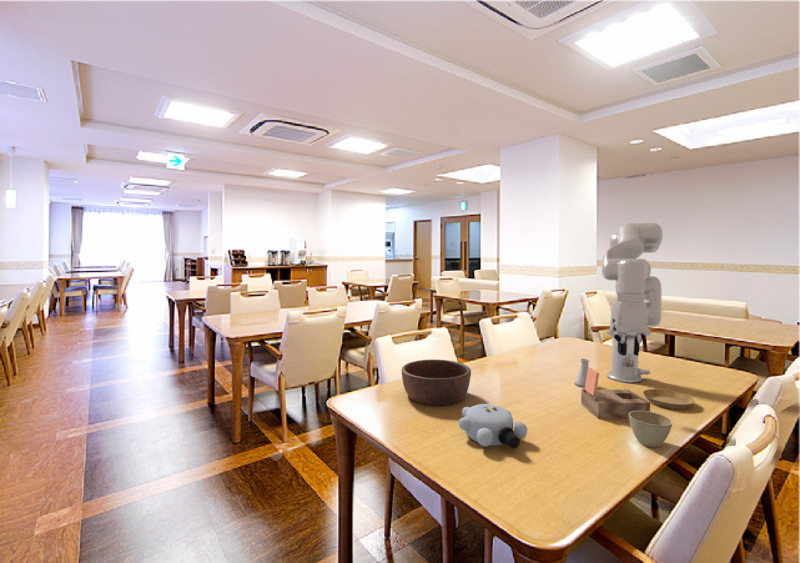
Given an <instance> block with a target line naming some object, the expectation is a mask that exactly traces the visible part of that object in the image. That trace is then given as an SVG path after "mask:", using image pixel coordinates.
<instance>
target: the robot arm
mask: <svg viewBox="0 0 800 563" xmlns="http://www.w3.org/2000/svg"><path fill="white" fill-rule="evenodd" d="M662 241H663V229H662V227H661V225H660V224H658V223H656V222H633V223H631V222H630V223H625V224H623V225H622V226H620V228H618V231H617V232H616V233H613V234H612V235H611V236H610V238H609V248H608V249H607V250H606V251H605V252H604V255H603V257H602V264H601V274H602V277H603V278H604V279H605V280H606V281H607V280H608V281H615V294H616V301H614V302H613V304H612V305H611V306H610V307H611V308H610V323H609V328H608V330H607V333H606V334H608V335H609V336H611V337H612V338H611V339H612V340H611V343H612V344H611V367H610V368H611V370H610V371H607V373H606V377H608V379H610V380H614V381H617V382H622V383H634V384H635V383H640V382H642V381H643V377H642V376H643V375H645V376H647V375H651V371H650V370H649V369H643V368H639V353H640V344H642V342H643V340H644V339H645V338H647V337H648V336H651V334H652V331H651V330H650V327H651V328H653V327H654V328H655V327H658V326H660V324H661V321H662V284H661V280H660V278H658V277H657V276H652V275H651V272H652V268H651V267H652V266H651V264H650V263H649V261H648V260H647V259H644V258H640V256H642V254H646V253H649V254H650V253H656V252H657V251H658V250H659V249H660V246H661V244H662ZM645 301H647V302H645ZM629 332H636V333H637V336H635V354H634V367H626V366H623V365H622V355H623V356H625V355H626V344H625V343H624V341H625V334H627V333H629Z"/></svg>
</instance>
